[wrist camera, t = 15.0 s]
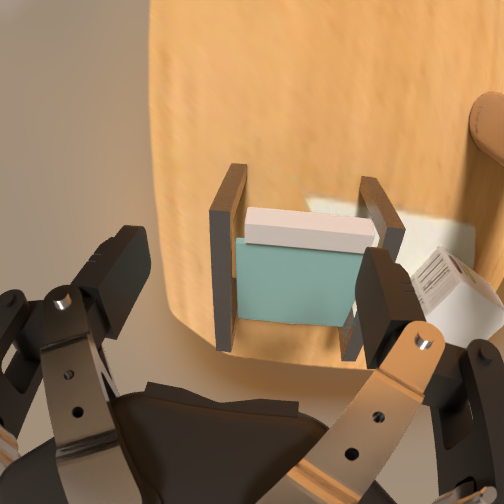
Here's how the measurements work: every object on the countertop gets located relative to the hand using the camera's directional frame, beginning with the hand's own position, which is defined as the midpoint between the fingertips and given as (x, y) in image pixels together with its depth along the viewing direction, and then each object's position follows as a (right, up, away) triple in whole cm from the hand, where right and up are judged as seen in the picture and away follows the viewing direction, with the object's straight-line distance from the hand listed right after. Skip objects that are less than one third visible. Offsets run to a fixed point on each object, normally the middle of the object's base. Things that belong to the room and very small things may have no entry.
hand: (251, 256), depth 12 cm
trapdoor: (+5, -2, +25) cm, 26 cm away
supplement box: (+34, -6, +38) cm, 51 cm away
